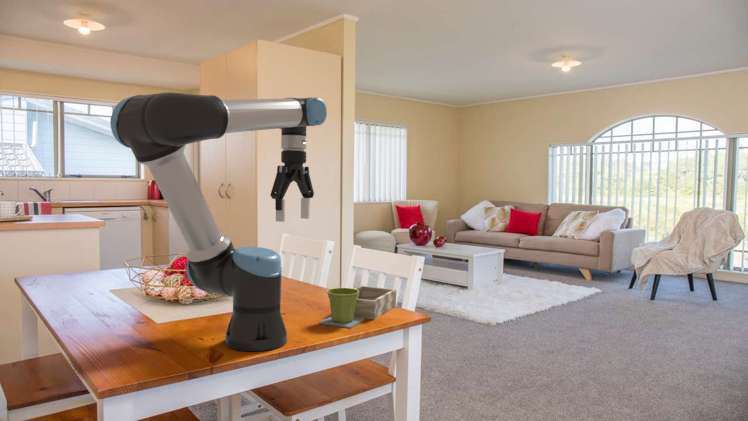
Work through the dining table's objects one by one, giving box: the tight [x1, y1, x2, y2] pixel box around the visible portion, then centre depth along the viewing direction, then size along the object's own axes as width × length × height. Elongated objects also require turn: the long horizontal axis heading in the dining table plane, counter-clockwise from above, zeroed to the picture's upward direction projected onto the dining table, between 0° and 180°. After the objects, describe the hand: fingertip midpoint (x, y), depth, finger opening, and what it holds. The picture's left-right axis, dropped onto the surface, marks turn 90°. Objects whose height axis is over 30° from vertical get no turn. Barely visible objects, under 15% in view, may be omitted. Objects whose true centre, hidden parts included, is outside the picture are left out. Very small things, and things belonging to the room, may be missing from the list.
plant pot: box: [326, 287, 359, 323], centre depth 153 cm, size 9×9×9 cm
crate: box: [353, 285, 397, 320], centre depth 167 cm, size 19×13×6 cm
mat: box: [318, 316, 366, 329], centre depth 153 cm, size 10×10×1 cm
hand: (293, 220), depth 161 cm, fingers open, 13 cm apart
